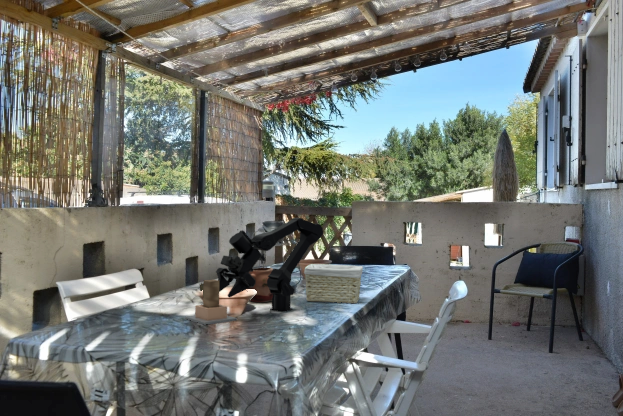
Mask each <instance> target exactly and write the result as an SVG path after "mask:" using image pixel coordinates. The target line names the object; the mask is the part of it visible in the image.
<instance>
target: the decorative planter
mask: <svg viewBox="0 0 623 416" xmlns="http://www.w3.org/2000/svg"><path fill="white" fill-rule="evenodd" d="M273 269H274V268H272V267H253V272H249V273H250V274H251V275H252V276H253V278H254V279H255V280H256V284H255V285H254V287H253V288H252V287H250V288H249V289H255V290H256V291H257V294H256V295H255V296H254V297H253V298H252V299H251V300H250V299H249V301H250V302H253V303H266V302H267V303H268V302H272V297H273V293H270V290H269V288H268V285H267V280H268V278H269V277H268V276H269V275H270V274H271V272H272V270H273Z"/></svg>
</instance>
